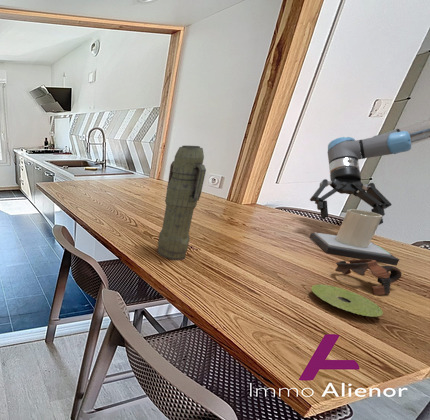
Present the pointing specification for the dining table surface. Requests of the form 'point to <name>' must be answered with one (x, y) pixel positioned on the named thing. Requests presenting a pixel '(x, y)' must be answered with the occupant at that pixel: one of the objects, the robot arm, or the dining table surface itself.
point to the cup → (358, 228)
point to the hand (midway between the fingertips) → (350, 220)
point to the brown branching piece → (376, 270)
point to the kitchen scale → (352, 249)
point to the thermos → (181, 201)
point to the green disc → (347, 300)
